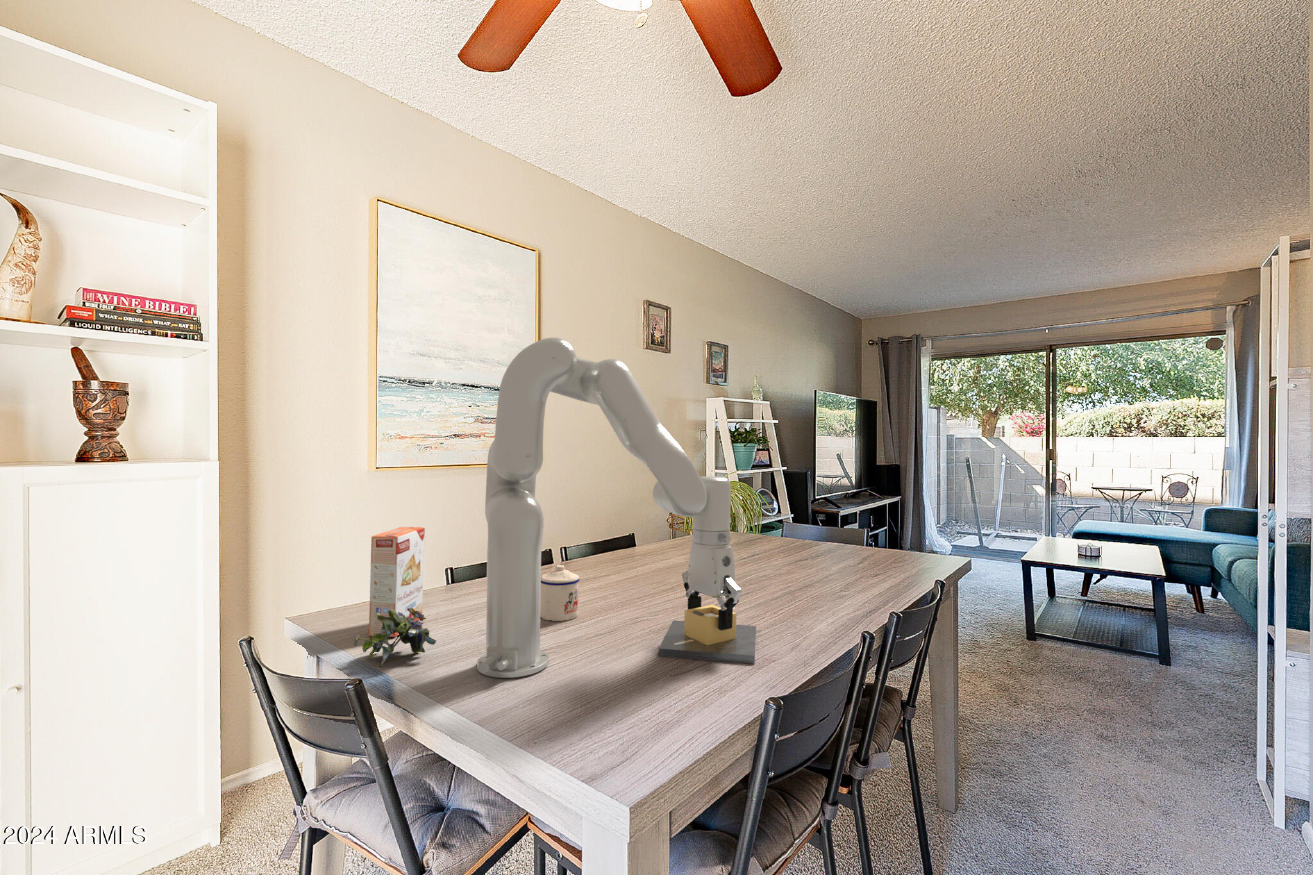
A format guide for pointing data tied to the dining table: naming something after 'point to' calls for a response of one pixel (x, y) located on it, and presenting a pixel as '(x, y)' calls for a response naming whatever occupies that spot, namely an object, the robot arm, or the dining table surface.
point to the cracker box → (396, 574)
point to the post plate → (723, 651)
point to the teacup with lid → (559, 595)
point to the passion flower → (406, 629)
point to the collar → (707, 625)
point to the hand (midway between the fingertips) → (709, 622)
